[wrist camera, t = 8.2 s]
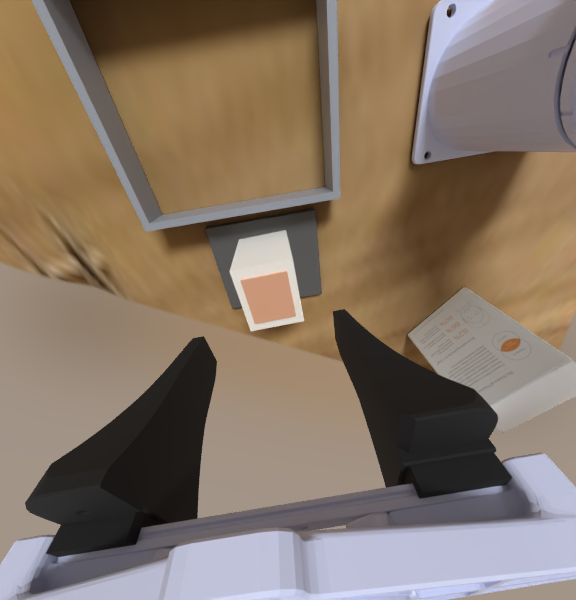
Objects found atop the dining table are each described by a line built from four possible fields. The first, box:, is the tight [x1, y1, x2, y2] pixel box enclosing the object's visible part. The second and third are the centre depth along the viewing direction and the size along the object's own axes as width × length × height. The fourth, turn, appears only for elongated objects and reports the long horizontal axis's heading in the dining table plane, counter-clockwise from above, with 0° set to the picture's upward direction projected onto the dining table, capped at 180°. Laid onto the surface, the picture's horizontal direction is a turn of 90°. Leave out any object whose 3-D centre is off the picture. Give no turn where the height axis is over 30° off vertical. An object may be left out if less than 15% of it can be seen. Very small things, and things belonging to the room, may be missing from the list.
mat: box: [205, 209, 322, 309], centre depth 21 cm, size 9×8×1 cm
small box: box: [408, 287, 576, 432], centre depth 23 cm, size 8×6×10 cm
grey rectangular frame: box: [32, 0, 340, 232], centre depth 14 cm, size 14×12×2 cm
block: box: [230, 230, 304, 331], centre depth 18 cm, size 4×5×6 cm
